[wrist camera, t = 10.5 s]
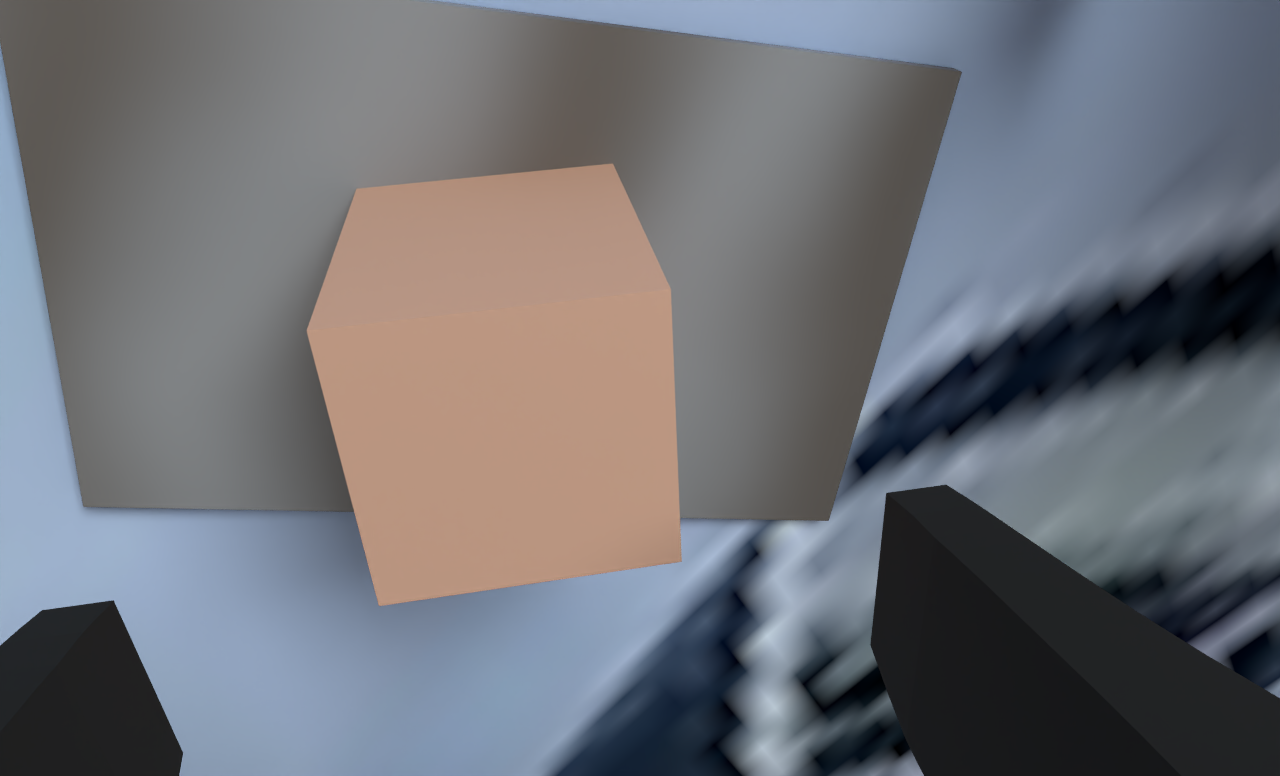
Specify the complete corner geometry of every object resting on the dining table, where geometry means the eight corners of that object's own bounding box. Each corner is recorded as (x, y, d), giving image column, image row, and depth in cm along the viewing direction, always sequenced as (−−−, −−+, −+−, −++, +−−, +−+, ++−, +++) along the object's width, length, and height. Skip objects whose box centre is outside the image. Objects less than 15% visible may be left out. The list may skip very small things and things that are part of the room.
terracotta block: (612, 163, 15) (671, 289, 10) (627, 381, 17) (681, 561, 12) (356, 188, 14) (306, 330, 10) (403, 409, 16) (378, 605, 12)
